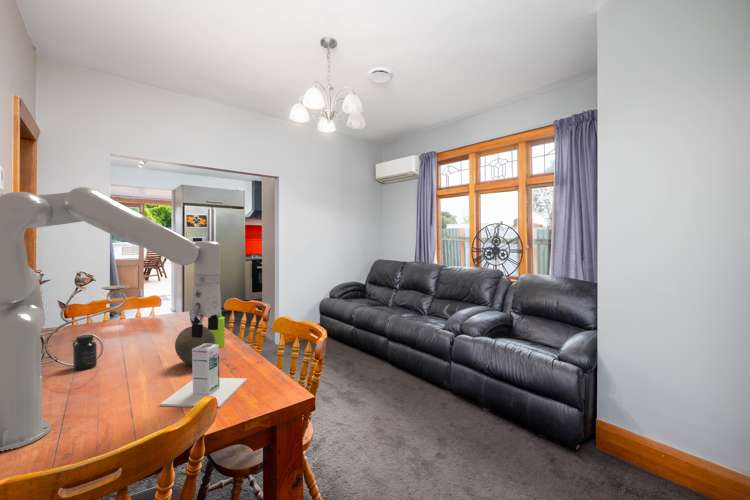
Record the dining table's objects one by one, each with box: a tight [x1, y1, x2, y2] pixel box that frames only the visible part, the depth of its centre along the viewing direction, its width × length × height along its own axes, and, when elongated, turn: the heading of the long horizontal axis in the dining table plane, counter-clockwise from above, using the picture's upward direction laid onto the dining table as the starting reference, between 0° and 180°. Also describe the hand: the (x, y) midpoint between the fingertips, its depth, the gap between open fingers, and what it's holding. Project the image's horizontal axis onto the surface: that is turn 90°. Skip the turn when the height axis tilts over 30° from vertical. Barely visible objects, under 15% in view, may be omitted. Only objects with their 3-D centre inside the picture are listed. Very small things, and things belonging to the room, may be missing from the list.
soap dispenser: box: [211, 309, 226, 348], centre depth 159 cm, size 6×7×20 cm
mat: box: [159, 377, 248, 409], centre depth 112 cm, size 20×18×1 cm
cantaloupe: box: [174, 325, 215, 365], centre depth 136 cm, size 14×14×15 cm
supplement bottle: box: [72, 334, 98, 371], centre depth 131 cm, size 7×7×12 cm
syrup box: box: [191, 343, 220, 395], centre depth 111 cm, size 6×6×14 cm
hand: (205, 333), depth 111 cm, fingers open, 9 cm apart
